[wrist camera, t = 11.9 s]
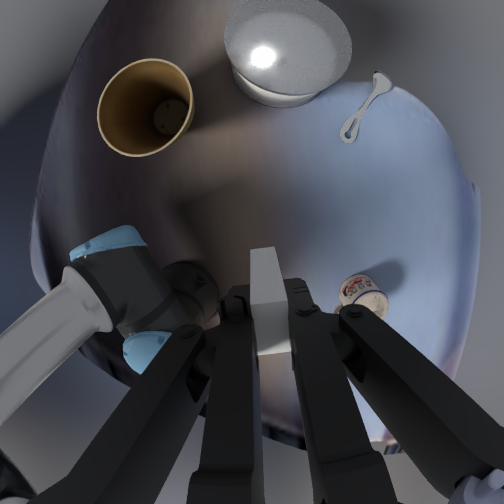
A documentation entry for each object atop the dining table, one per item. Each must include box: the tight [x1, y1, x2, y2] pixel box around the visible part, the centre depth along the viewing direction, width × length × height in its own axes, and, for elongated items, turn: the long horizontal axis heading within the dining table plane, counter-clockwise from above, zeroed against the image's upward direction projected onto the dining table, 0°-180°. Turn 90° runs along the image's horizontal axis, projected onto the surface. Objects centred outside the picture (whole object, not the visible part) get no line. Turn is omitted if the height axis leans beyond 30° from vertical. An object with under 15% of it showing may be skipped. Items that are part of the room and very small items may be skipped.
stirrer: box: [340, 70, 392, 143], centre depth 44 cm, size 20×4×5 cm
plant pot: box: [97, 59, 194, 157], centre depth 39 cm, size 15×15×16 cm
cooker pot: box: [231, 63, 322, 108], centre depth 37 cm, size 19×19×12 cm
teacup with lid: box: [333, 274, 389, 320], centre depth 54 cm, size 12×9×12 cm
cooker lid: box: [224, 0, 352, 96], centre depth 30 cm, size 19×21×2 cm
